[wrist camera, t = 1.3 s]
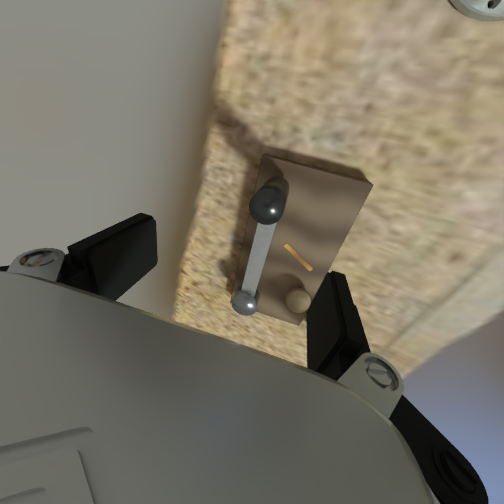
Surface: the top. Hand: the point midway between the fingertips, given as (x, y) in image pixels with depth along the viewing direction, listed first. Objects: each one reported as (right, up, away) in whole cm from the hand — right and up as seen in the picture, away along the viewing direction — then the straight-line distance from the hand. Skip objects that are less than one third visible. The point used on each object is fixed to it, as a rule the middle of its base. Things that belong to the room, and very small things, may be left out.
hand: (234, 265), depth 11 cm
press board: (+7, +1, +23) cm, 24 cm away
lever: (+2, +1, +21) cm, 21 cm away
